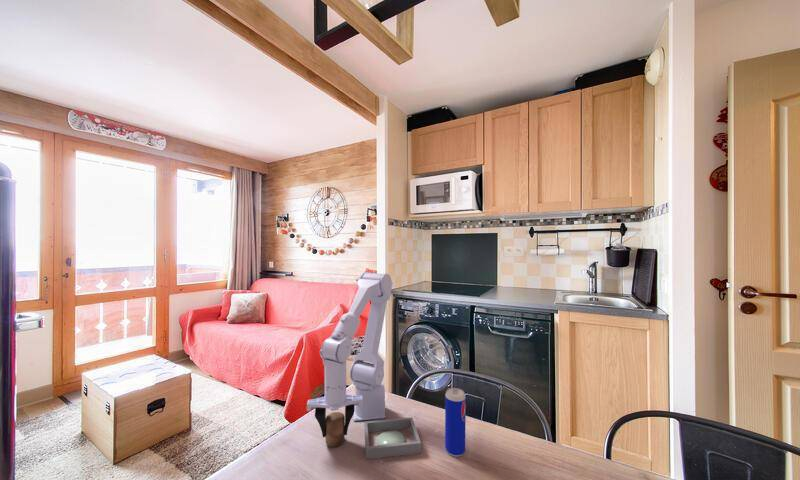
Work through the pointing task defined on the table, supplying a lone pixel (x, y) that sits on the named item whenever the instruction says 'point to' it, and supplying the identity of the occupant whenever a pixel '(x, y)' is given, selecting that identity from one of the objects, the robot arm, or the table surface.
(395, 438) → the coaster
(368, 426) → the grey rectangular frame
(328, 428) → the walnut cylinder
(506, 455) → the table surface
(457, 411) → the beverage can
